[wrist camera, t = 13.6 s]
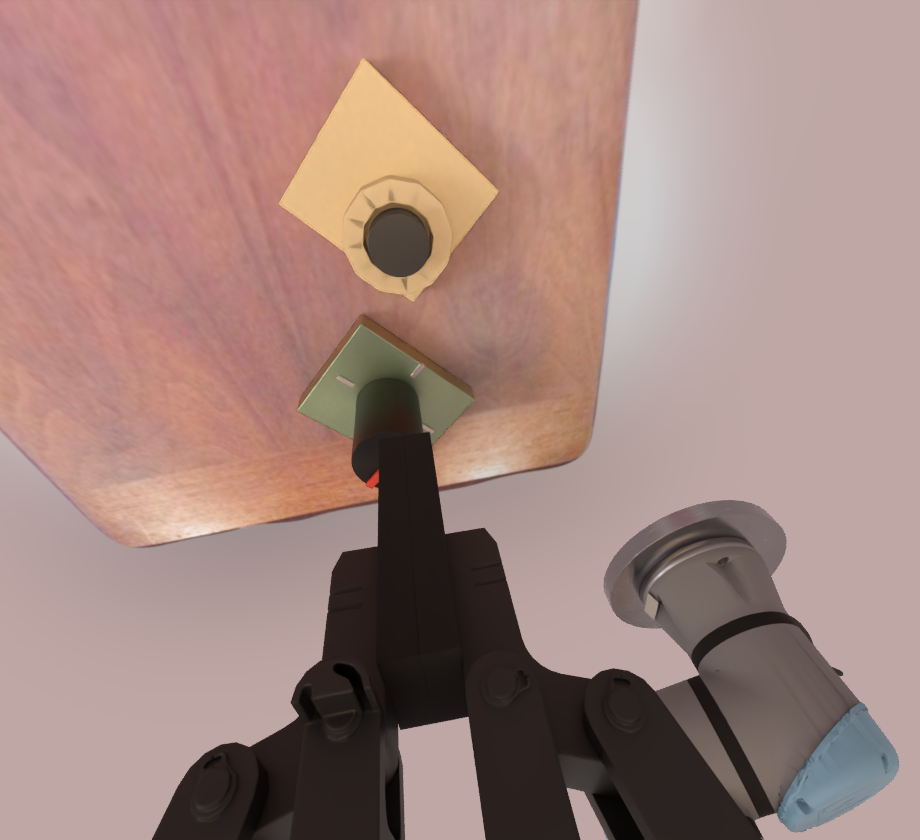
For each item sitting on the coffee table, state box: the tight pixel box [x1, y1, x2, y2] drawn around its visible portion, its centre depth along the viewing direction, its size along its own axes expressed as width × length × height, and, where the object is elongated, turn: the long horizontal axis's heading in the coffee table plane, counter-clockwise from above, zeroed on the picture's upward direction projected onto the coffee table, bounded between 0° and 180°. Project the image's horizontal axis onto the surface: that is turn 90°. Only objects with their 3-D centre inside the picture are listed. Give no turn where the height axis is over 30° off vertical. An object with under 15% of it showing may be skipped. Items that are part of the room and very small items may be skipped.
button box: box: [279, 58, 499, 302], centre depth 27 cm, size 10×9×4 cm
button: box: [368, 208, 430, 277], centre depth 26 cm, size 4×4×2 cm
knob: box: [352, 378, 423, 489], centre depth 33 cm, size 5×5×7 cm
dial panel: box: [297, 314, 475, 445], centre depth 36 cm, size 11×9×2 cm
